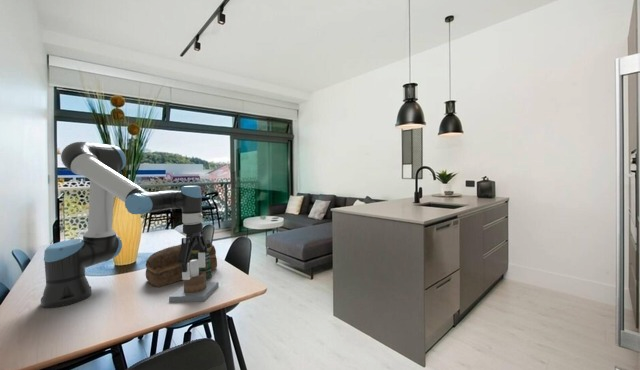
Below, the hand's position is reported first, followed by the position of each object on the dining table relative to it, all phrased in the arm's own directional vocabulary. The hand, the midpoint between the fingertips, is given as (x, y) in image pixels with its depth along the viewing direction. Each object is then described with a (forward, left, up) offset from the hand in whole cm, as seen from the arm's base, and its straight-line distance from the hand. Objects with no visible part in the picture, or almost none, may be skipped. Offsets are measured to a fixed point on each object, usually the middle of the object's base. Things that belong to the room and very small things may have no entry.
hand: (194, 273), depth 112 cm
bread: (-16, +22, -9) cm, 28 cm away
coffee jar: (-5, +16, -9) cm, 19 cm away
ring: (0, 0, -7) cm, 7 cm away
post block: (0, 0, -9) cm, 9 cm away
